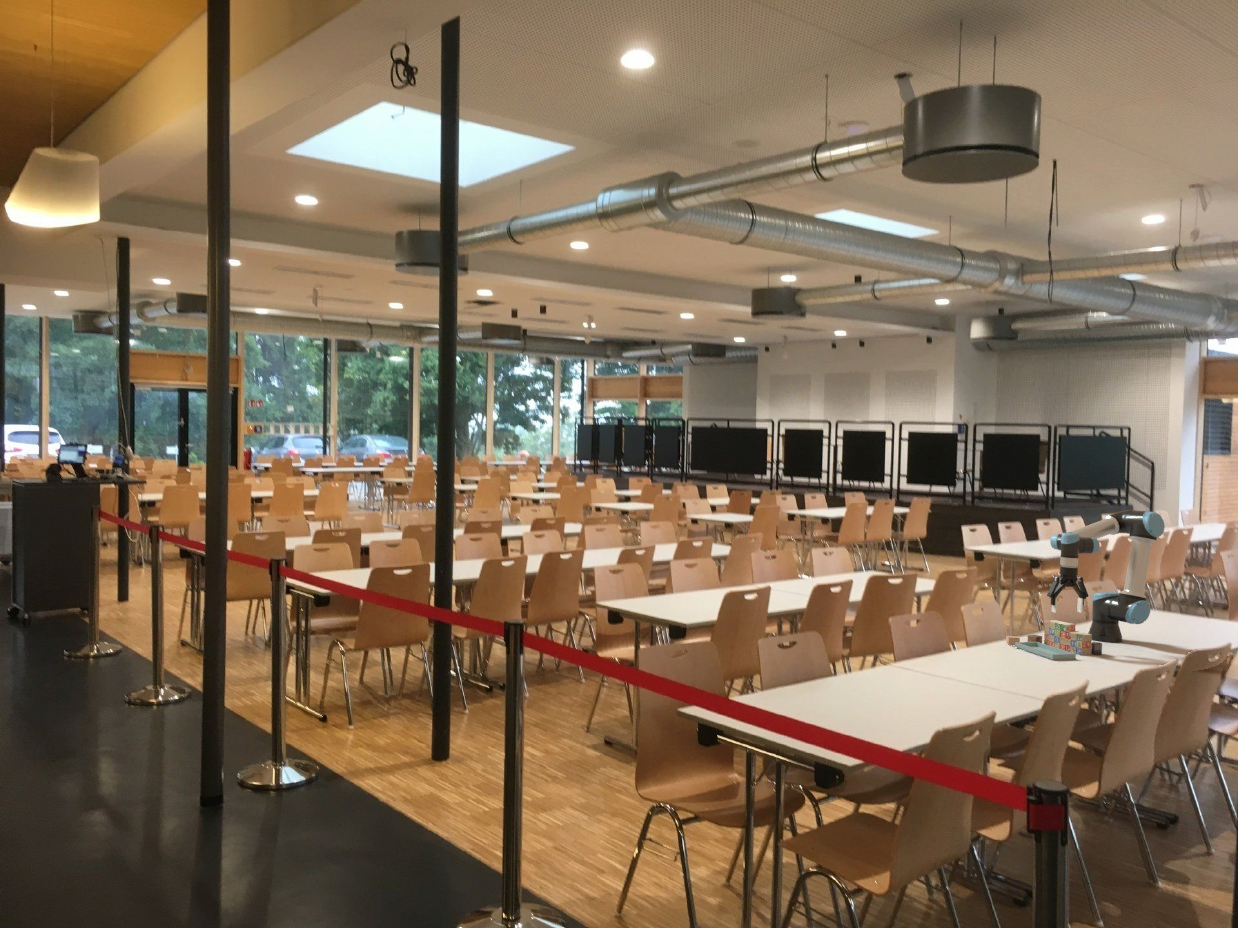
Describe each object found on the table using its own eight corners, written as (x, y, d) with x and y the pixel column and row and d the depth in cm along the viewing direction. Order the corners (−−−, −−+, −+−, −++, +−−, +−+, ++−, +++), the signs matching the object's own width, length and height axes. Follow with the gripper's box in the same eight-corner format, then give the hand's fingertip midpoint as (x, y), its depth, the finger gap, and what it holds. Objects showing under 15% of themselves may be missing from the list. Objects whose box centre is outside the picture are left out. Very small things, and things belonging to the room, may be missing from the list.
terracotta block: (1017, 644, 463) (1017, 636, 463) (1019, 646, 459) (1019, 637, 459) (1006, 644, 464) (1006, 635, 464) (1008, 645, 460) (1008, 637, 460)
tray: (1036, 647, 458) (1037, 641, 458) (1075, 659, 432) (1075, 653, 432) (1014, 647, 455) (1015, 642, 455) (1052, 660, 429) (1052, 654, 429)
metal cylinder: (1097, 652, 448) (1097, 641, 448) (1104, 655, 444) (1104, 644, 443) (1088, 653, 447) (1089, 642, 447) (1095, 655, 443) (1096, 644, 442)
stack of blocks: (1091, 654, 444) (1092, 627, 444) (1081, 655, 442) (1082, 628, 442) (1053, 645, 464) (1054, 619, 464) (1043, 646, 461) (1044, 620, 461)
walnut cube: (1033, 643, 466) (1034, 634, 466) (1041, 645, 462) (1042, 636, 462) (1027, 644, 464) (1027, 635, 464) (1035, 646, 460) (1035, 636, 460)
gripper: (1086, 565, 459) (1084, 610, 459) (1040, 565, 453) (1038, 610, 453) (1098, 567, 451) (1096, 613, 452) (1050, 567, 446) (1048, 613, 446)
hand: (1067, 612), depth 453 cm, fingers open, 13 cm apart
